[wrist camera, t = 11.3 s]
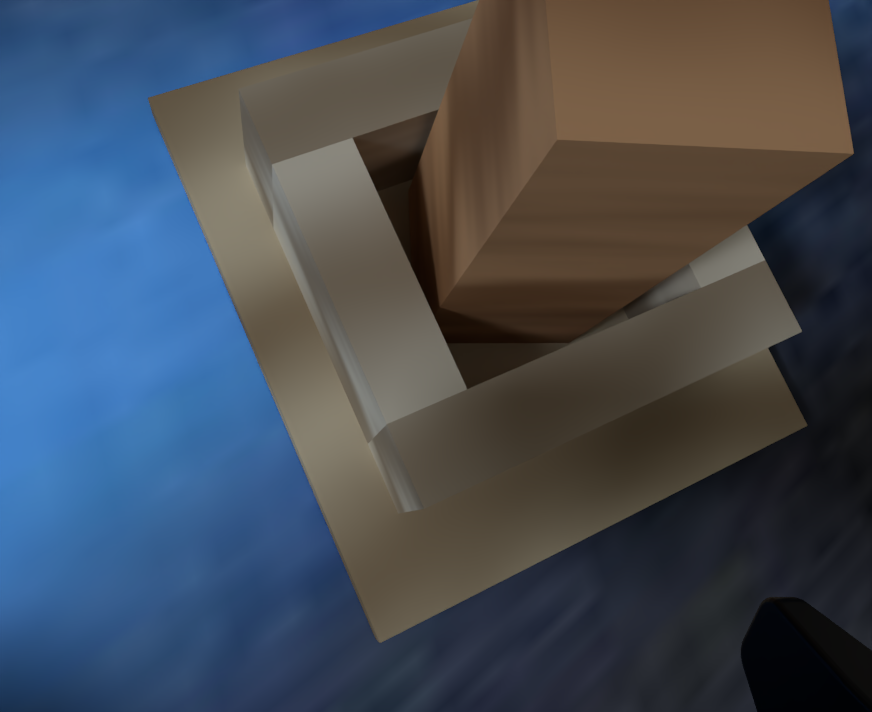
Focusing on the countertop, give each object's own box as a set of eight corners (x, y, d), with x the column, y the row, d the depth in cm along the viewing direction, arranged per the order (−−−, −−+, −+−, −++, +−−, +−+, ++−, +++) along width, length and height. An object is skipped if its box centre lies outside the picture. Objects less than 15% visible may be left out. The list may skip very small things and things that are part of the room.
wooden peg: (568, 343, 23) (853, 154, 12) (414, 343, 22) (556, 140, 11) (557, 196, 24) (809, -113, 13) (407, 191, 23) (533, -146, 12)
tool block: (787, 429, 25) (907, 404, 20) (375, 638, 21) (402, 668, 17) (564, -9, 27) (626, -127, 22) (153, 116, 23) (120, 7, 19)
